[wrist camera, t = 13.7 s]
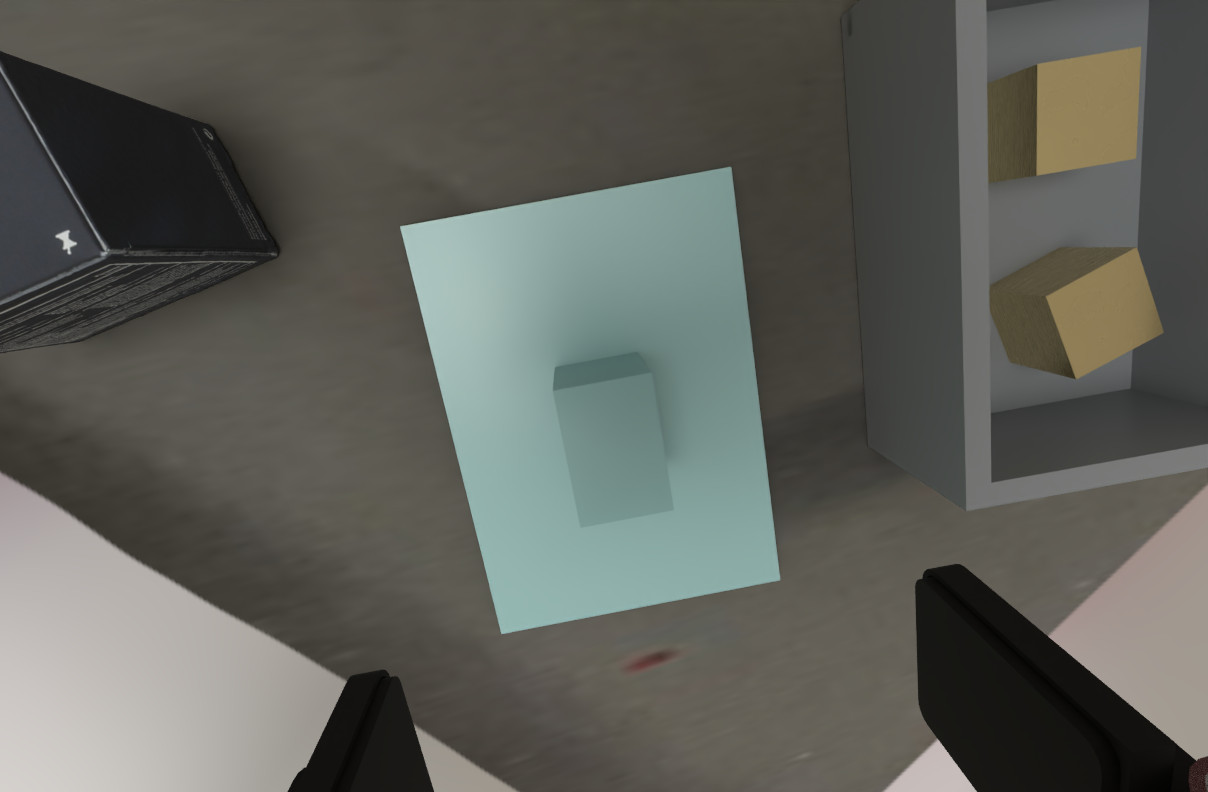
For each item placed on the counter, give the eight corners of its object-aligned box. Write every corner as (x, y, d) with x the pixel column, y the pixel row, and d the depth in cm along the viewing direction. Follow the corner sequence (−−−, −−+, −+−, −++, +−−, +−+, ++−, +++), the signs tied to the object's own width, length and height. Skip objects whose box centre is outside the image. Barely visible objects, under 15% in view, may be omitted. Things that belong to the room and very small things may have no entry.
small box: (209, 111, 26) (-21, 24, 16) (285, 256, 28) (121, 261, 17) (-11, 208, 26) (-373, 184, 16) (77, 346, 28) (-202, 402, 18)
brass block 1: (969, 90, 27) (1037, 63, 23) (1057, 75, 27) (1141, 46, 23) (970, 185, 28) (1036, 175, 24) (1056, 171, 28) (1136, 158, 24)
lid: (406, 227, 28) (363, 221, 22) (724, 170, 28) (766, 148, 22) (503, 620, 33) (490, 702, 27) (772, 568, 34) (818, 638, 28)
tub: (840, 16, 27) (954, -80, 19) (1152, -36, 27) (1390, -151, 19) (867, 446, 31) (966, 510, 24) (1131, 399, 32) (1314, 448, 24)
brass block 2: (981, 290, 29) (1046, 296, 25) (1059, 247, 29) (1136, 247, 25) (1009, 362, 30) (1076, 379, 26) (1085, 321, 29) (1163, 332, 26)
